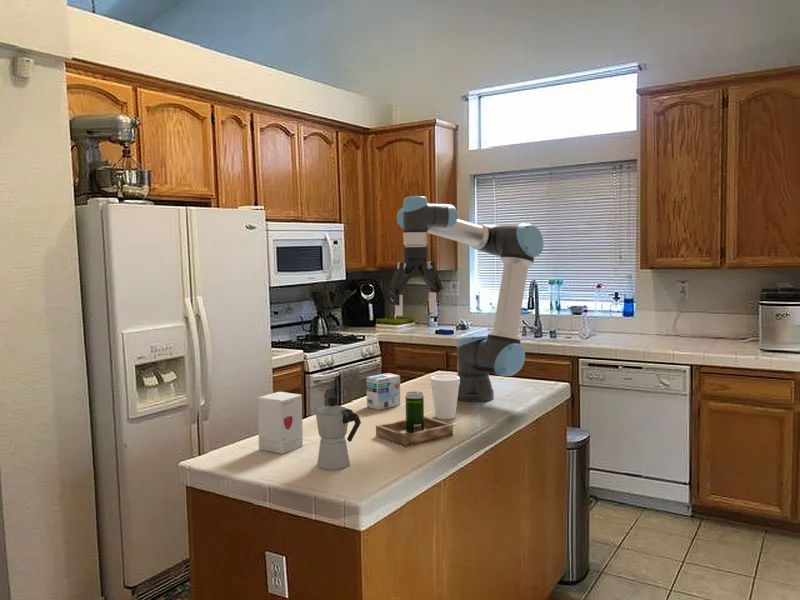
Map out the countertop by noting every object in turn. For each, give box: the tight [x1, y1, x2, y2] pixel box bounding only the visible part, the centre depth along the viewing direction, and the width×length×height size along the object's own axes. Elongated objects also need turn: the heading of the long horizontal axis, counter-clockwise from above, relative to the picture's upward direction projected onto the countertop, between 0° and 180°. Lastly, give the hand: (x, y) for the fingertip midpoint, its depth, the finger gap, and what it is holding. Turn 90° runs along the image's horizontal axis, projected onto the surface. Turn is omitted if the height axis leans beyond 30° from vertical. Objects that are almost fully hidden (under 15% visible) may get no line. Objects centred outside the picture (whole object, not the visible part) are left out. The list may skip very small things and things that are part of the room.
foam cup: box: [430, 374, 460, 420], centre depth 217 cm, size 10×9×13 cm
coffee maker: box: [312, 395, 362, 472], centre depth 169 cm, size 15×9×18 cm, turn 58°
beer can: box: [405, 391, 425, 434], centre depth 195 cm, size 5×5×12 cm
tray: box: [375, 415, 454, 448], centre depth 195 cm, size 18×14×3 cm
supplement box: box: [257, 391, 304, 455], centre depth 184 cm, size 9×9×15 cm
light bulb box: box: [366, 372, 401, 410], centre depth 232 cm, size 11×7×11 cm, turn 132°
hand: (416, 314), depth 207 cm, fingers open, 13 cm apart
